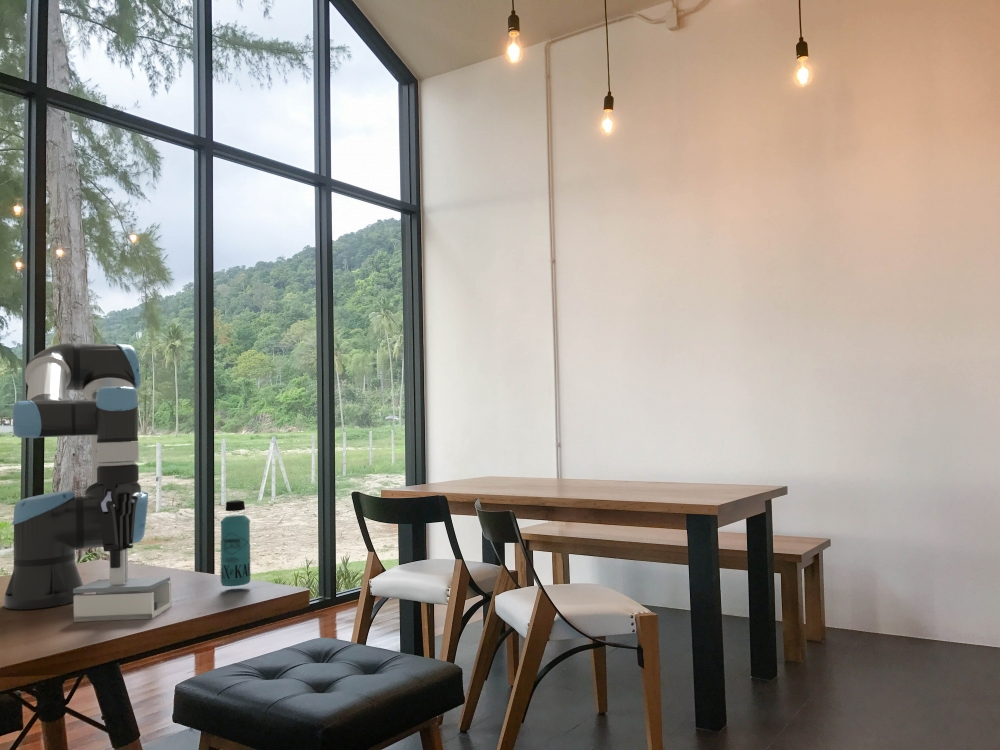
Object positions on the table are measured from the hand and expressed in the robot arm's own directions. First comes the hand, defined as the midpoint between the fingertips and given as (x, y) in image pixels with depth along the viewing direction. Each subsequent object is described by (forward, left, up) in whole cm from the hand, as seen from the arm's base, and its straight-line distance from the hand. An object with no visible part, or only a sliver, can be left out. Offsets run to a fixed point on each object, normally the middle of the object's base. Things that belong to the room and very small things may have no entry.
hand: (118, 583), depth 157 cm
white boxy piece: (-3, 0, -7) cm, 7 cm away
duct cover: (-2, 0, -1) cm, 3 cm away
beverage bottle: (-21, +17, -7) cm, 27 cm away
